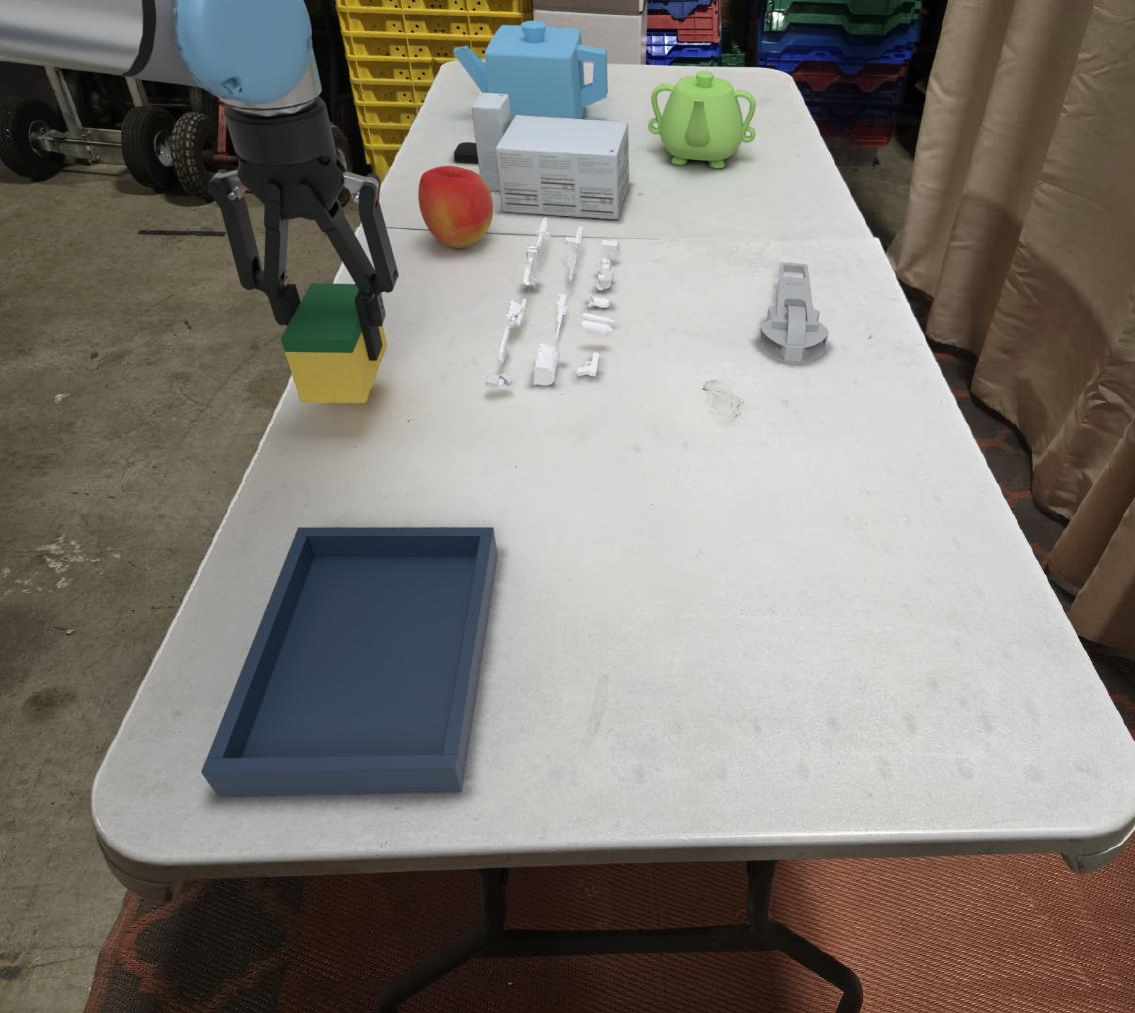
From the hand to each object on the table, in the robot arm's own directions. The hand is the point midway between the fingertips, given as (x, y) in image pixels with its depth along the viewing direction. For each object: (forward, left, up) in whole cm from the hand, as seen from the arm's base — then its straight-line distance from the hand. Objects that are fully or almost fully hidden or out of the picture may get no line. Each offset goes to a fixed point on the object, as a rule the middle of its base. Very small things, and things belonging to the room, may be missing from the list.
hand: (340, 352), depth 81 cm
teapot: (+56, +55, -7) cm, 79 cm away
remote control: (+25, +61, -7) cm, 66 cm away
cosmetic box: (+23, +52, -7) cm, 57 cm away
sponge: (0, 0, -2) cm, 2 cm away
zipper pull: (+51, +5, -7) cm, 51 cm away
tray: (0, -32, -7) cm, 33 cm away
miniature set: (+25, +13, -7) cm, 29 cm away
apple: (+15, +34, -7) cm, 38 cm away
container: (+33, +76, -7) cm, 83 cm away
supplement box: (+32, +45, -7) cm, 55 cm away
